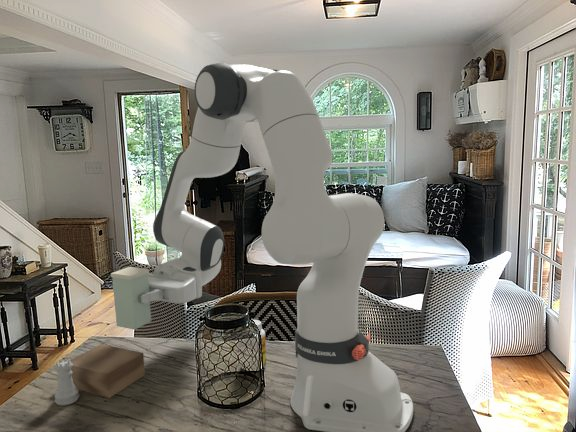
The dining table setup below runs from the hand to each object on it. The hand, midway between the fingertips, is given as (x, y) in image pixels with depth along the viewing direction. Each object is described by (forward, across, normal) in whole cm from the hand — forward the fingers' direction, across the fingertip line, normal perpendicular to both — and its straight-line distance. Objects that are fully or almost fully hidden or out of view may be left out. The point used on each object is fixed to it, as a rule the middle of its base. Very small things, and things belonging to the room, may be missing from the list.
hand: (128, 297), depth 99 cm
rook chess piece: (+14, -4, +17) cm, 22 cm away
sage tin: (-1, 0, +6) cm, 6 cm away
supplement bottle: (-13, +22, +17) cm, 31 cm away
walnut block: (+5, -4, +17) cm, 18 cm away
